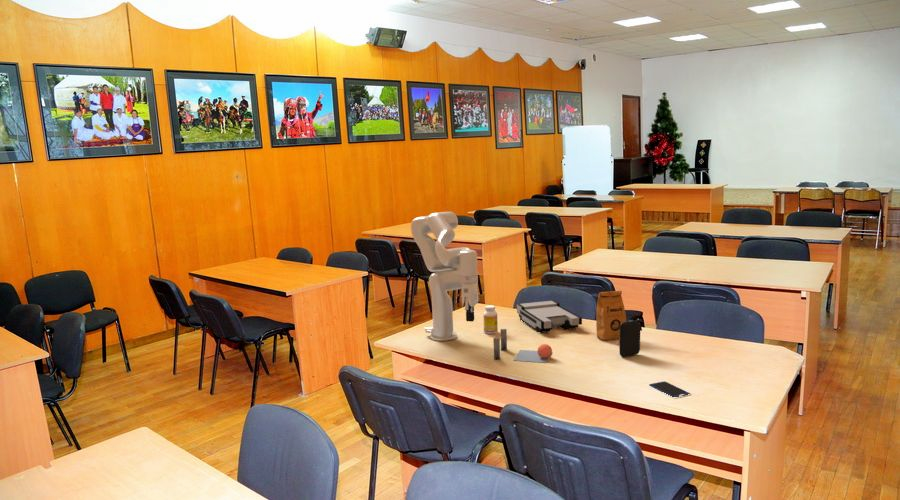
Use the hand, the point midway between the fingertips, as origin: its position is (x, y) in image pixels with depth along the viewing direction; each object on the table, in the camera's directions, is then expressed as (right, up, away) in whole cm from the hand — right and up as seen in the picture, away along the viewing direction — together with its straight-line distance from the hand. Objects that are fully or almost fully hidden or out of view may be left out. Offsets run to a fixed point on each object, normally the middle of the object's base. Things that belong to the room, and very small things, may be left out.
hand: (470, 320), depth 262 cm
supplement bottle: (+11, -9, +31) cm, 34 cm away
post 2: (+15, -13, +4) cm, 20 cm away
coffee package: (+64, -10, +15) cm, 67 cm away
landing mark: (+26, -14, -6) cm, 30 cm away
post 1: (+11, -15, -8) cm, 20 cm away
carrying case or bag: (+66, -14, -10) cm, 68 cm away
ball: (+31, -12, -9) cm, 34 cm away
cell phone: (+69, -20, -47) cm, 85 cm away
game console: (+40, -7, +41) cm, 58 cm away
